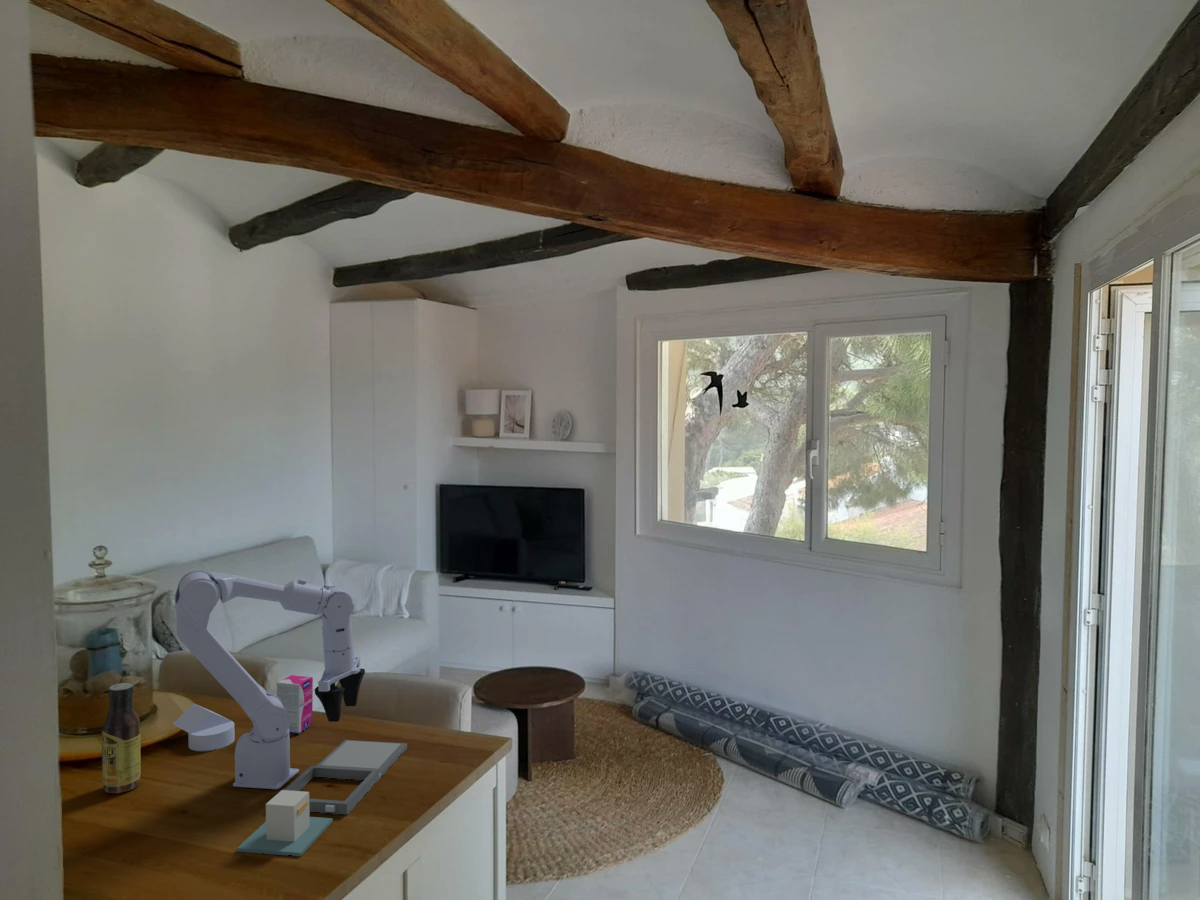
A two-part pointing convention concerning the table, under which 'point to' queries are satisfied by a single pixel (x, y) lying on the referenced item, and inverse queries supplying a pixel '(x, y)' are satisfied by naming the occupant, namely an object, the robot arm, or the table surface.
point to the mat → (297, 848)
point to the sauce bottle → (121, 742)
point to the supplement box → (297, 701)
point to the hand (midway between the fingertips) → (342, 713)
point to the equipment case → (350, 771)
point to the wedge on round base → (206, 729)
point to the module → (287, 815)
